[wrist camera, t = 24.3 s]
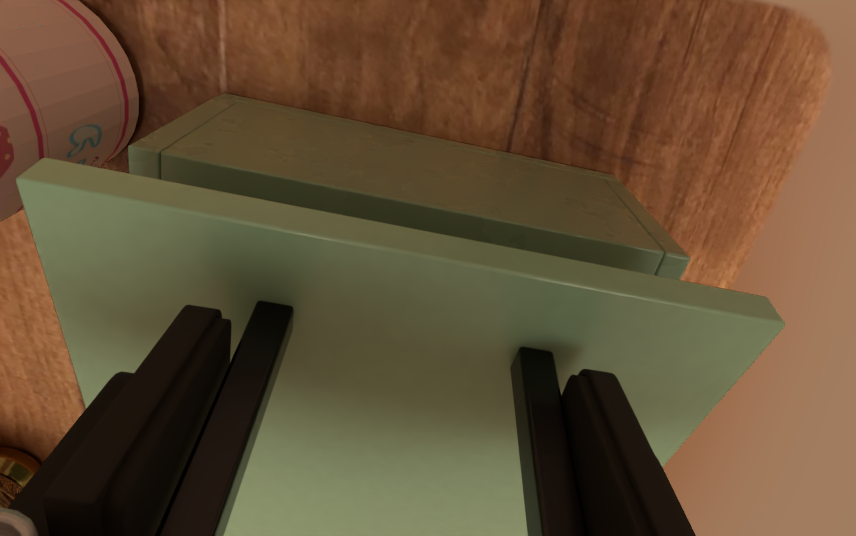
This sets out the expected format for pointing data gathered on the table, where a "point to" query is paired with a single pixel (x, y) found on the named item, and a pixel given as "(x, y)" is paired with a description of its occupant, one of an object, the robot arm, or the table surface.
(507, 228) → the green box
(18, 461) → the cup
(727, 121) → the table surface
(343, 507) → the lid
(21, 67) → the beverage can
